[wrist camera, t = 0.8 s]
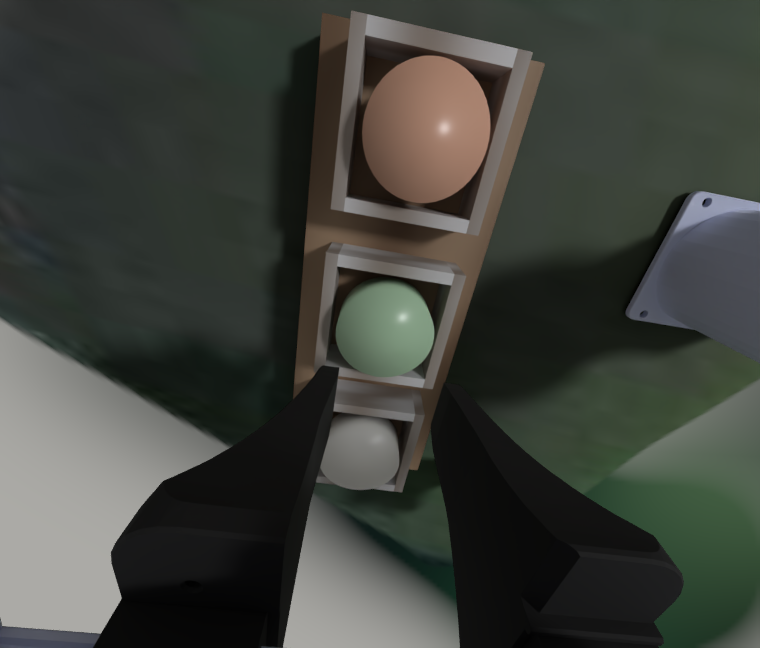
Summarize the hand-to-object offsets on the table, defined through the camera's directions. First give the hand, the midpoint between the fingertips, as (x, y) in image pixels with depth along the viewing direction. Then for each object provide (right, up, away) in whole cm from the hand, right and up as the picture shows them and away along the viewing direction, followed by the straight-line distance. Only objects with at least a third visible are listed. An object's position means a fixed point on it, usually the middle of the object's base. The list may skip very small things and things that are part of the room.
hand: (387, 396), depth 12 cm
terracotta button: (+2, +11, +2) cm, 11 cm away
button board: (0, +4, +9) cm, 10 cm away
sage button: (0, +3, +6) cm, 7 cm away
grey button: (-2, -5, +10) cm, 11 cm away
